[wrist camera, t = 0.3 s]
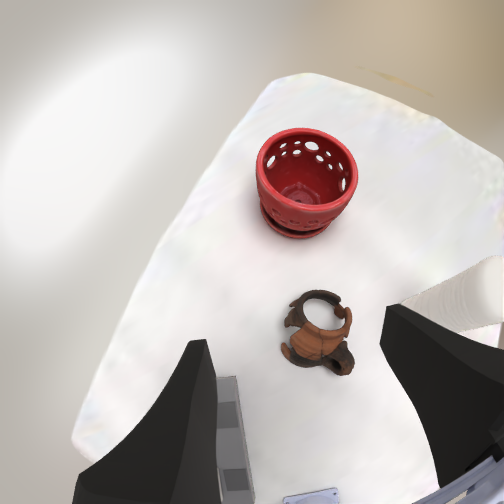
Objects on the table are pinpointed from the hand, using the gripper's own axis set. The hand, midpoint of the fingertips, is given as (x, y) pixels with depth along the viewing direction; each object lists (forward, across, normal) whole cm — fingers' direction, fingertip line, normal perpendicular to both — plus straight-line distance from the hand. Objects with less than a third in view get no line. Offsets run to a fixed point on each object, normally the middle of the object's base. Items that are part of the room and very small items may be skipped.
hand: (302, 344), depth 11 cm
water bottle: (+20, -23, +20) cm, 37 cm away
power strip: (+13, +9, +30) cm, 33 cm away
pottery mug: (+22, -7, +20) cm, 30 cm away
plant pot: (+35, -9, +5) cm, 37 cm away
